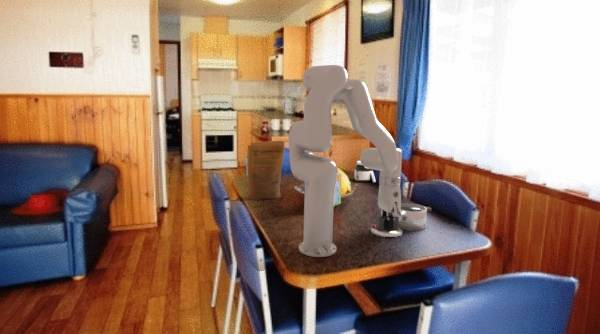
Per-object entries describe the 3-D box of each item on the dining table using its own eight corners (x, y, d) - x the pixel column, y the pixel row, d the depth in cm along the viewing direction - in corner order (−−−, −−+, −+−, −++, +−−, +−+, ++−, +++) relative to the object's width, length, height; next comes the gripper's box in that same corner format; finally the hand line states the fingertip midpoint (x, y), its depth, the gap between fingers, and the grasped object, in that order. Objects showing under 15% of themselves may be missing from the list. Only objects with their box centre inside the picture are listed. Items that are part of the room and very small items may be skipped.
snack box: (331, 202, 194) (332, 171, 191) (341, 204, 190) (342, 172, 187) (303, 211, 178) (304, 178, 175) (313, 214, 174) (314, 180, 171)
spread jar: (352, 179, 242) (353, 160, 240) (369, 178, 245) (370, 159, 243) (361, 184, 231) (362, 164, 229) (379, 183, 234) (380, 163, 232)
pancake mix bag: (286, 198, 197) (287, 141, 192) (248, 202, 190) (247, 142, 185) (281, 195, 204) (282, 139, 198) (244, 198, 197) (244, 140, 191)
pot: (437, 228, 159) (439, 210, 158) (398, 232, 154) (399, 212, 153) (420, 219, 170) (421, 201, 169) (383, 222, 166) (384, 204, 164)
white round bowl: (408, 236, 150) (409, 220, 149) (379, 238, 147) (380, 222, 146) (392, 226, 161) (393, 211, 160) (365, 228, 158) (366, 213, 157)
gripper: (410, 185, 144) (406, 235, 147) (388, 175, 159) (385, 220, 162) (391, 186, 142) (388, 236, 145) (370, 176, 157) (368, 222, 160)
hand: (386, 227), depth 154 cm, fingers closed on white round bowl, 2 cm apart
